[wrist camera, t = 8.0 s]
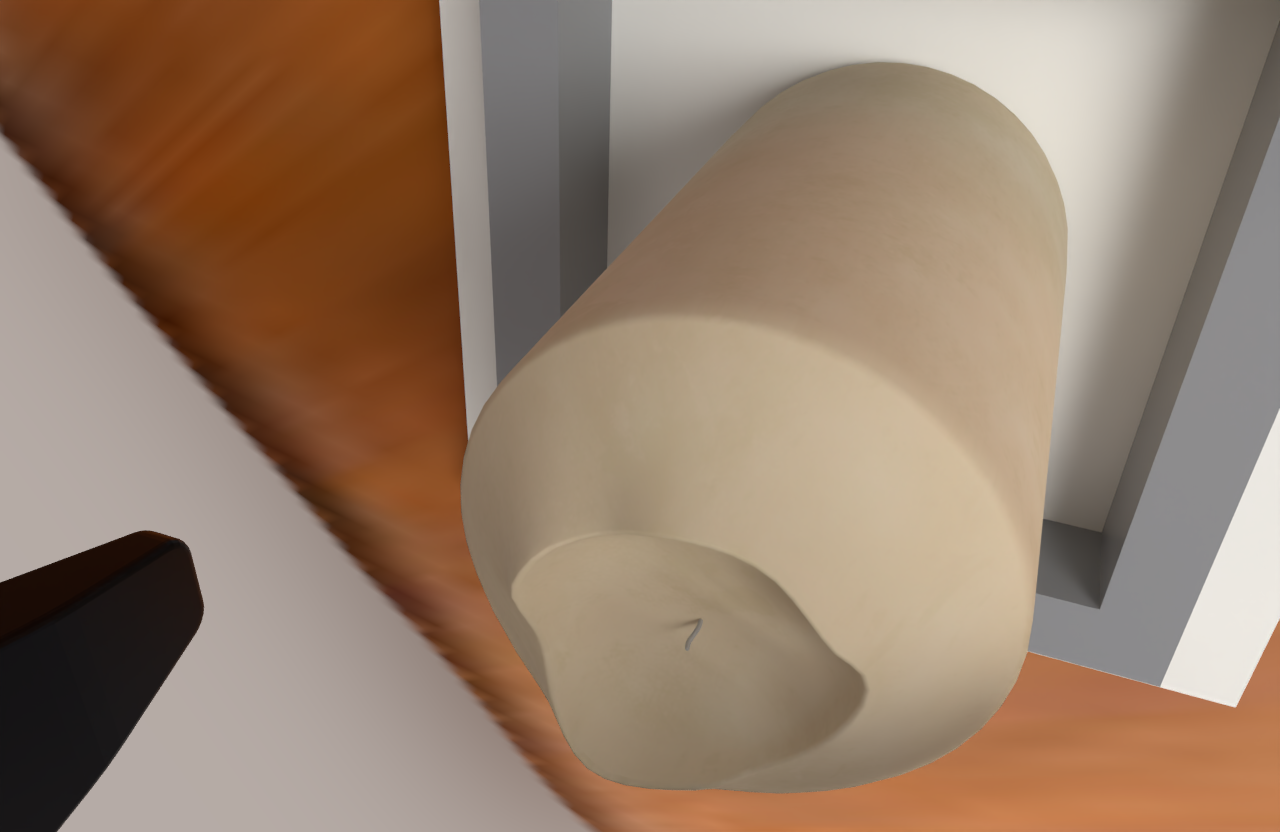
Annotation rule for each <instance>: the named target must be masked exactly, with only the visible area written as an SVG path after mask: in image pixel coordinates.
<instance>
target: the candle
mask: <svg viewBox="0 0 1280 832" xmlns="http://www.w3.org/2000/svg"><path fill="white" fill-rule="evenodd" d="M1067 240H1068V227H1067V220H1066V213H1065V206H1064V201H1063V198H1062V195H1061V191H1060V188H1059V185H1058V181H1057V179H1056V177H1055V174H1054V172H1053V170H1052V168H1051V166H1050V164H1049V162H1048V159H1047V157H1046V155H1045V153H1044V152H1043V150H1042V149H1041V147H1040V145H1039V144H1038V142H1037V141H1036V139H1035V138H1034V136H1033V135H1032V133H1031V132H1030V131H1029V130H1028V129H1027V128H1026V126H1025V125H1024V124H1023V123H1022V122H1021V121H1020V120H1019V119H1018V117H1017V116H1016V115H1015V114H1014V113H1013V112H1011V111H1010V110H1009V109H1008V108H1007V107H1005V106H1004V105H1003V104H1002V103H1001V102H1000V101H998V100H997V99H996V98H995V97H993V96H991V95H990V94H988V93H987V92H985V91H984V90H982V89H980V88H979V87H977V86H976V85H974V84H972V83H969V82H967V81H965V80H963V79H961V78H959V77H956V76H954V75H952V74H949V73H946V72H942V71H939V70H936V69H932V68H929V67H924V66H918V65H912V64H906V63H886V62H876V63H866V64H856V65H851V66H846V67H842V68H838V69H834V70H830V71H827V72H824V73H822V74H819V75H816V76H814V77H811V78H809V79H806V80H804V81H801V82H799V83H797V84H796V85H794V86H792V87H790V88H788V89H787V90H785V91H783V92H781V93H780V94H778V95H777V96H776V97H774V98H773V99H772V100H770V101H769V102H768V103H766V104H765V105H763V106H762V107H761V108H760V109H759V110H758V111H757V112H756V113H755V114H754V115H753V116H752V117H751V118H749V119H748V120H747V121H746V122H745V123H744V124H743V125H742V126H741V127H740V128H739V129H738V130H737V131H736V132H735V133H734V134H733V135H732V136H731V137H730V138H729V139H728V140H727V141H726V142H725V143H724V144H723V145H722V147H721V148H720V149H719V150H718V151H717V152H716V153H715V154H714V155H713V156H712V157H711V158H710V159H709V160H708V161H707V163H706V164H705V165H704V166H703V167H702V168H701V169H700V170H699V171H698V172H697V173H696V174H695V175H694V176H693V177H692V178H691V180H690V181H689V182H688V183H687V184H686V185H685V186H684V187H683V188H682V189H681V190H680V191H679V192H678V193H677V194H676V195H675V197H674V198H673V199H672V200H671V201H670V202H669V203H668V204H667V205H666V206H665V207H664V208H663V209H662V210H661V211H660V212H659V214H658V215H657V216H656V217H655V218H654V219H653V220H652V221H651V222H650V223H649V224H648V225H647V226H646V227H645V228H644V230H643V231H642V232H641V233H640V234H639V235H638V236H637V237H636V238H635V239H634V240H633V241H632V242H631V243H630V244H629V245H628V247H627V248H626V249H625V250H624V251H623V252H622V253H621V254H620V255H619V256H618V257H617V258H616V259H615V260H614V261H613V262H612V264H611V265H610V266H609V267H608V268H607V269H606V270H605V271H604V272H603V273H602V274H601V275H600V276H599V277H598V278H597V279H596V281H595V282H594V283H593V284H592V285H591V286H590V287H589V288H588V289H587V290H586V291H585V292H584V293H583V294H582V295H581V297H580V298H579V299H578V300H577V301H576V302H575V303H574V304H573V305H572V306H571V307H570V308H569V309H568V310H567V311H566V312H565V314H564V315H563V316H562V317H561V318H560V319H559V320H558V321H557V322H556V323H555V324H554V325H553V326H552V327H551V328H550V329H549V331H548V332H547V333H546V334H545V335H544V336H543V337H542V338H541V339H540V340H539V341H538V342H537V343H536V344H535V345H534V347H533V348H532V349H531V350H530V351H529V352H528V353H527V354H526V355H525V356H524V357H523V358H522V359H521V360H520V361H519V363H518V364H517V365H516V366H515V367H514V368H513V369H512V370H511V371H510V372H509V373H508V374H507V376H506V377H505V378H504V379H503V380H502V381H501V382H500V384H499V385H498V386H497V388H496V389H495V390H494V392H493V393H492V395H491V396H490V397H489V399H488V400H487V401H486V403H485V404H484V406H483V408H482V410H481V412H480V414H479V416H478V418H477V420H476V422H475V424H474V426H473V428H472V431H471V434H470V437H469V441H468V444H467V448H466V451H465V455H464V459H463V468H462V476H461V513H462V519H463V524H464V530H465V536H466V541H467V544H468V547H469V551H470V554H471V557H472V560H473V563H474V567H475V570H476V572H477V575H478V577H479V580H480V582H481V584H482V587H483V589H484V591H485V593H486V596H487V598H488V600H489V602H490V604H491V607H492V609H493V611H494V613H495V615H496V617H497V618H498V620H499V622H500V624H501V625H502V627H503V629H504V631H505V632H506V634H507V636H508V638H509V640H510V641H511V643H512V645H513V647H514V648H515V650H516V652H517V653H518V655H519V656H520V658H521V659H522V661H523V662H524V664H525V665H526V667H527V668H528V670H529V672H530V673H531V675H532V676H533V678H534V679H535V681H536V682H537V684H538V685H539V687H540V688H541V690H542V692H543V693H544V695H545V697H546V698H547V700H548V702H549V703H550V706H551V708H552V710H553V712H554V715H555V717H556V719H557V721H558V724H559V726H560V728H561V731H562V733H563V735H564V737H565V739H566V741H567V742H568V744H569V746H570V748H571V749H572V751H573V753H574V754H575V755H576V757H577V758H578V759H579V760H580V761H581V762H582V763H583V764H584V765H585V766H586V768H587V769H589V770H591V771H592V772H594V773H596V774H597V775H599V776H601V777H603V778H604V779H607V780H610V781H614V782H617V783H620V784H623V785H628V786H635V787H641V788H648V789H663V790H703V789H723V790H734V791H745V792H761V793H799V792H817V791H828V790H835V789H843V788H850V787H856V786H860V785H864V784H868V783H872V782H876V781H879V780H883V779H887V778H891V777H895V776H899V775H902V774H905V773H907V772H910V771H912V770H915V769H917V768H920V767H922V766H925V765H927V764H930V763H932V762H934V761H935V760H937V759H939V758H941V757H942V756H944V755H946V754H948V753H949V752H951V751H953V750H955V749H956V748H958V747H959V746H961V745H962V744H963V743H964V742H966V741H967V740H968V739H969V738H971V737H972V736H973V735H974V734H976V733H977V732H978V731H979V730H981V729H982V727H983V726H984V725H985V724H986V723H987V722H988V721H989V720H990V718H991V717H992V716H993V715H994V714H995V713H996V712H997V711H998V709H999V708H1000V707H1001V706H1002V704H1003V702H1004V701H1005V699H1006V697H1007V696H1008V694H1009V693H1010V691H1011V689H1012V688H1013V686H1014V684H1015V683H1016V681H1017V678H1018V676H1019V673H1020V670H1021V668H1022V665H1023V662H1024V660H1025V657H1026V655H1027V651H1028V645H1029V640H1030V634H1031V628H1032V623H1033V614H1034V605H1035V595H1036V585H1037V575H1038V565H1039V555H1040V544H1041V534H1042V523H1043V513H1044V503H1045V492H1046V482H1047V471H1048V461H1049V451H1050V440H1051V430H1052V419H1053V409H1054V399H1055V388H1056V378H1057V367H1058V357H1059V347H1060V336H1061V326H1062V315H1063V305H1064V295H1065V284H1066V274H1067Z"/></svg>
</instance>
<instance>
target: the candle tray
mask: <svg viewBox="0 0 1280 832" xmlns="http://www.w3.org/2000/svg"><path fill="white" fill-rule="evenodd" d="M439 4H440V20H441V35H442V50H443V65H444V80H445V96H446V111H447V126H448V141H449V156H450V172H451V187H452V202H453V217H454V233H455V248H456V263H457V278H458V293H459V309H460V324H461V339H462V354H463V369H464V385H465V400H466V415H467V430H468V441H469V437H470V434H471V431H472V428H473V426H474V424H475V422H476V420H477V418H478V416H479V414H480V412H481V410H482V408H483V406H484V404H485V403H486V401H487V400H488V399H489V397H490V396H491V395H492V393H493V392H494V390H495V389H496V388H497V386H498V385H499V384H500V382H501V381H502V380H503V379H504V378H505V377H506V376H507V374H508V373H509V372H510V371H511V370H512V369H513V368H514V367H515V366H516V365H517V364H518V363H519V361H520V360H521V359H522V358H523V357H524V356H525V355H526V354H527V353H528V352H529V351H530V350H531V349H532V348H533V347H534V345H535V344H536V343H537V342H538V341H539V340H540V339H541V338H542V337H543V336H544V335H545V334H546V333H547V332H548V331H549V329H550V328H551V327H552V326H553V325H554V324H555V323H556V322H557V321H558V320H559V319H560V318H561V317H562V316H563V315H564V314H565V312H566V311H567V310H568V309H569V308H570V307H571V306H572V305H573V304H574V303H575V302H576V301H577V300H578V299H579V298H580V297H581V295H582V294H583V293H584V292H585V291H586V290H587V289H588V288H589V287H590V286H591V285H592V284H593V283H594V282H595V281H596V279H597V278H598V277H599V276H600V275H601V274H602V273H603V272H604V271H605V270H606V269H607V268H608V267H609V266H610V265H611V264H612V262H613V261H614V260H615V259H616V258H617V257H618V256H619V255H620V254H621V253H622V252H623V251H624V250H625V249H626V248H627V247H628V245H629V244H630V243H631V242H632V241H633V240H634V239H635V238H636V237H637V236H638V235H639V234H640V233H641V232H642V231H643V230H644V228H645V227H646V226H647V225H648V224H649V223H650V222H651V221H652V220H653V219H654V218H655V217H656V216H657V215H658V214H659V212H660V211H661V210H662V209H663V208H664V207H665V206H666V205H667V204H668V203H669V202H670V201H671V200H672V199H673V198H674V197H675V195H676V194H677V193H678V192H679V191H680V190H681V189H682V188H683V187H684V186H685V185H686V184H687V183H688V182H689V181H690V180H691V178H692V177H693V176H694V175H695V174H696V173H697V172H698V171H699V170H700V169H701V168H702V167H703V166H704V165H705V164H706V163H707V161H708V160H709V159H710V158H711V157H712V156H713V155H714V154H715V153H716V152H717V151H718V150H719V149H720V148H721V147H722V145H723V144H724V143H725V142H726V141H727V140H728V139H729V138H730V137H731V136H732V135H733V134H734V133H735V132H736V131H737V130H738V129H739V128H740V127H741V126H742V125H743V124H744V123H745V122H746V121H747V120H748V119H749V118H751V117H752V116H753V115H754V114H755V113H756V112H757V111H758V110H759V109H760V108H761V107H762V106H763V105H765V104H766V103H768V102H769V101H770V100H772V99H773V98H774V97H776V96H777V95H778V94H780V93H781V92H783V91H785V90H787V89H788V88H790V87H792V86H794V85H796V84H797V83H799V82H801V81H804V80H806V79H809V78H811V77H814V76H816V75H819V74H822V73H824V72H827V71H830V70H834V69H838V68H842V67H846V66H851V65H856V64H866V63H876V62H886V63H906V64H912V65H918V66H924V67H929V68H932V69H936V70H939V71H942V72H946V73H949V74H952V75H954V76H956V77H959V78H961V79H963V80H965V81H967V82H969V83H972V84H974V85H976V86H977V87H979V88H980V89H982V90H984V91H985V92H987V93H988V94H990V95H991V96H993V97H995V98H996V99H997V100H998V101H1000V102H1001V103H1002V104H1003V105H1004V106H1005V107H1007V108H1008V109H1009V110H1010V111H1011V112H1013V113H1014V114H1015V115H1016V116H1017V117H1018V119H1019V120H1020V121H1021V122H1022V123H1023V124H1024V125H1025V126H1026V128H1027V129H1028V130H1029V131H1030V132H1031V133H1032V135H1033V136H1034V138H1035V139H1036V141H1037V142H1038V144H1039V145H1040V147H1041V149H1042V150H1043V152H1044V153H1045V155H1046V157H1047V159H1048V162H1049V164H1050V166H1051V168H1052V170H1053V172H1054V174H1055V177H1056V179H1057V181H1058V185H1059V188H1060V191H1061V195H1062V198H1063V201H1064V206H1065V213H1066V220H1067V227H1068V240H1067V274H1066V284H1065V295H1064V305H1063V315H1062V326H1061V336H1060V347H1059V357H1058V367H1057V378H1056V388H1055V399H1054V409H1053V419H1052V430H1051V440H1050V451H1049V461H1048V471H1047V482H1046V492H1045V503H1044V513H1043V523H1042V534H1041V544H1040V555H1039V565H1038V575H1037V585H1036V595H1035V605H1034V614H1033V623H1032V628H1031V634H1030V640H1029V645H1028V652H1032V653H1036V654H1040V655H1043V656H1047V657H1051V658H1054V659H1058V660H1062V661H1065V662H1069V663H1073V664H1076V665H1080V666H1084V667H1088V668H1091V669H1095V670H1099V671H1102V672H1106V673H1110V674H1113V675H1117V676H1121V677H1125V678H1128V679H1132V680H1136V681H1139V682H1143V683H1147V684H1150V685H1154V686H1158V687H1161V688H1165V689H1169V690H1173V691H1176V692H1180V693H1184V694H1187V695H1191V696H1195V697H1198V698H1202V699H1206V700H1210V701H1213V702H1217V703H1221V704H1224V705H1228V706H1232V707H1235V708H1236V706H1237V704H1238V702H1239V700H1240V698H1241V696H1242V694H1243V692H1244V690H1245V688H1246V686H1247V684H1248V682H1249V679H1250V677H1251V675H1252V673H1253V671H1254V669H1255V667H1256V665H1257V663H1258V661H1259V659H1260V657H1261V655H1262V653H1263V651H1264V649H1265V647H1266V645H1267V643H1268V641H1269V639H1270V637H1271V635H1272V633H1273V631H1274V629H1275V627H1276V625H1277V623H1278V621H1279V619H1280V0H439Z"/></svg>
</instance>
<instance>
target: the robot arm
mask: <svg viewBox="0 0 1280 832" xmlns="http://www.w3.org/2000/svg"><path fill="white" fill-rule="evenodd" d="M203 611H204V604H203V598H202V595H201V591H200V587H199V583H198V579H197V575H196V571H195V567H194V563H193V559H192V555H191V552H190V550H189V547H188V546H187V545H186V544H185V543H184V542H183V541H182V540H180V539H177V538H174V537H171V536H167V535H164V534H161V533H157V532H154V531H139V532H135V533H132V534H129V535H127V536H124V537H122V538H119V539H116V540H113V541H111V542H108V543H106V544H103V545H100V546H98V547H95V548H92V549H89V550H87V551H84V552H81V553H78V554H76V555H73V556H71V557H68V558H65V559H62V560H60V561H57V562H55V563H52V564H49V565H47V566H44V567H41V568H38V569H36V570H33V571H30V572H28V573H25V574H22V575H20V576H17V577H14V578H12V579H9V580H6V581H3V582H1V583H0V832H57V831H58V830H59V829H60V827H61V826H62V825H63V823H64V822H65V821H66V820H67V819H68V817H69V816H70V814H72V812H73V811H74V810H75V809H76V807H77V806H78V804H80V802H81V801H82V799H84V797H85V796H86V795H87V794H88V792H89V791H90V790H91V788H92V787H93V786H94V784H95V783H96V782H97V781H98V779H99V778H100V777H101V775H102V774H103V772H104V771H105V770H106V769H107V767H108V766H109V764H110V763H111V761H112V760H113V759H114V757H115V756H116V754H117V753H118V751H119V750H120V748H121V747H122V745H123V744H124V743H125V741H126V740H127V738H128V736H129V735H130V733H131V732H132V730H133V729H134V727H135V726H136V724H137V722H138V721H139V720H140V718H141V716H142V715H143V713H144V712H145V710H146V709H147V707H148V706H149V704H150V703H151V701H152V700H153V698H154V696H155V695H156V693H157V692H158V690H159V689H160V687H161V686H162V684H163V683H164V681H165V680H166V678H167V677H168V675H169V674H170V672H171V671H172V669H173V667H174V666H175V664H176V663H177V661H178V660H179V658H180V657H181V655H182V654H183V652H184V651H185V649H186V647H187V646H188V645H189V643H190V641H191V640H192V638H193V637H194V635H195V634H196V632H197V630H198V628H199V626H200V624H201V621H202V617H203Z"/></svg>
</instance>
